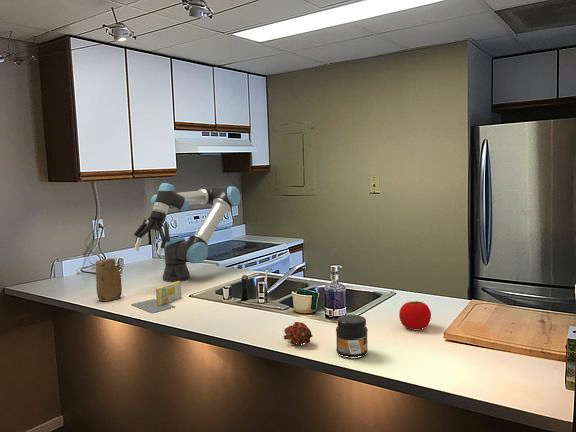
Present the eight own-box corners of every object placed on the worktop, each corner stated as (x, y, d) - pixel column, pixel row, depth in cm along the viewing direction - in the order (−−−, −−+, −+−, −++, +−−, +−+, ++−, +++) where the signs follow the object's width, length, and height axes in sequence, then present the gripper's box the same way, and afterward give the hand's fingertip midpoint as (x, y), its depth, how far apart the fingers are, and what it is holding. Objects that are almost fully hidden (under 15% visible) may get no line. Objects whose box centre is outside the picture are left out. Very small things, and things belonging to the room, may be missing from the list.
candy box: (178, 297, 241) (178, 280, 240) (182, 297, 240) (181, 281, 239) (156, 305, 226) (155, 287, 225) (159, 306, 225) (159, 288, 224)
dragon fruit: (310, 353, 170) (286, 349, 179) (321, 333, 175) (297, 331, 183) (298, 337, 167) (273, 334, 175) (309, 318, 171) (285, 316, 180)
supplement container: (356, 362, 158) (355, 326, 156) (330, 354, 165) (329, 319, 163) (373, 352, 165) (373, 317, 164) (348, 345, 172) (347, 312, 171)
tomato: (412, 335, 181) (412, 307, 180) (393, 325, 191) (393, 299, 190) (437, 330, 185) (438, 303, 184) (418, 321, 196) (418, 295, 195)
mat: (154, 299, 238) (154, 298, 238) (175, 307, 224) (175, 306, 224) (130, 304, 230) (130, 304, 230) (152, 313, 216) (151, 312, 216)
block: (101, 303, 234) (98, 262, 232) (96, 300, 240) (93, 259, 238) (123, 298, 241) (121, 258, 239) (118, 295, 247) (115, 256, 245)
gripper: (135, 207, 252) (122, 246, 247) (176, 213, 244) (164, 254, 238) (143, 211, 259) (131, 250, 254) (183, 217, 251) (172, 257, 245)
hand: (147, 252), depth 246 cm, fingers open, 13 cm apart
